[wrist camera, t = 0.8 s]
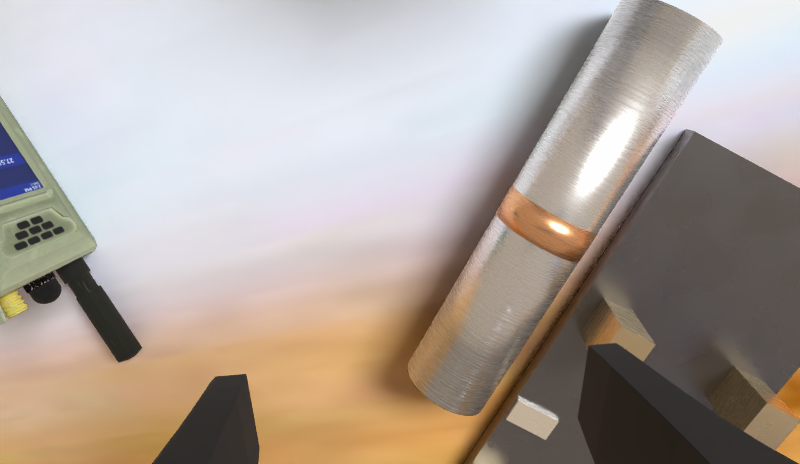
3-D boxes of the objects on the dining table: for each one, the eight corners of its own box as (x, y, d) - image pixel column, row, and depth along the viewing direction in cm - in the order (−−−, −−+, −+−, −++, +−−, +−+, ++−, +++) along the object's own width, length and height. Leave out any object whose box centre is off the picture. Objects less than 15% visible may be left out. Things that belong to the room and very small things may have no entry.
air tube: (605, -7, 23) (657, -8, 19) (683, 41, 24) (745, 48, 20) (402, 346, 28) (412, 398, 25) (472, 373, 29) (492, 427, 26)
